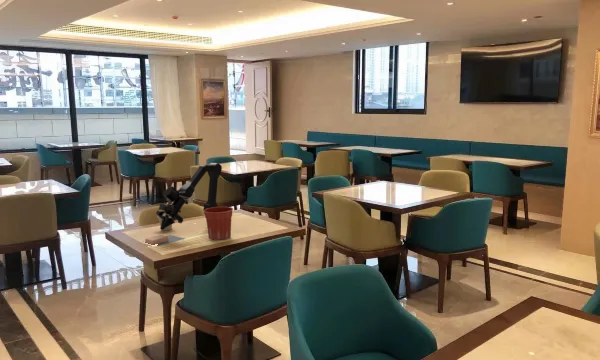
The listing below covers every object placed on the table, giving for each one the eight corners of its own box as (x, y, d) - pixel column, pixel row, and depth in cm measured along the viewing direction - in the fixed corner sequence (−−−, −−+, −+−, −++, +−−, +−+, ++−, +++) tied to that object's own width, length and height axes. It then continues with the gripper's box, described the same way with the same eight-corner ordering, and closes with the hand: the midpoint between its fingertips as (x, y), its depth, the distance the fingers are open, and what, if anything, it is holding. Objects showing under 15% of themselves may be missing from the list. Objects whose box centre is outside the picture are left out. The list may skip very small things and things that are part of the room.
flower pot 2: (230, 232, 288) (229, 205, 286) (237, 239, 273) (236, 210, 270) (202, 235, 282) (201, 208, 280) (208, 242, 267) (206, 213, 265)
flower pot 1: (172, 231, 294) (171, 217, 293) (156, 232, 294) (155, 217, 293) (176, 227, 303) (175, 214, 302) (161, 228, 304) (160, 214, 302)
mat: (170, 235, 285) (170, 234, 284) (185, 239, 275) (185, 238, 275) (139, 243, 270) (139, 242, 269) (154, 248, 260) (154, 247, 260)
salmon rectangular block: (160, 234, 275) (145, 238, 268) (168, 236, 271) (152, 240, 263) (161, 239, 276) (145, 243, 268) (168, 241, 271) (152, 245, 264)
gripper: (157, 196, 278) (141, 219, 272) (177, 199, 266) (161, 223, 260) (170, 207, 285) (155, 230, 279) (190, 211, 273) (174, 234, 267)
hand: (161, 229), depth 271 cm, fingers closed
